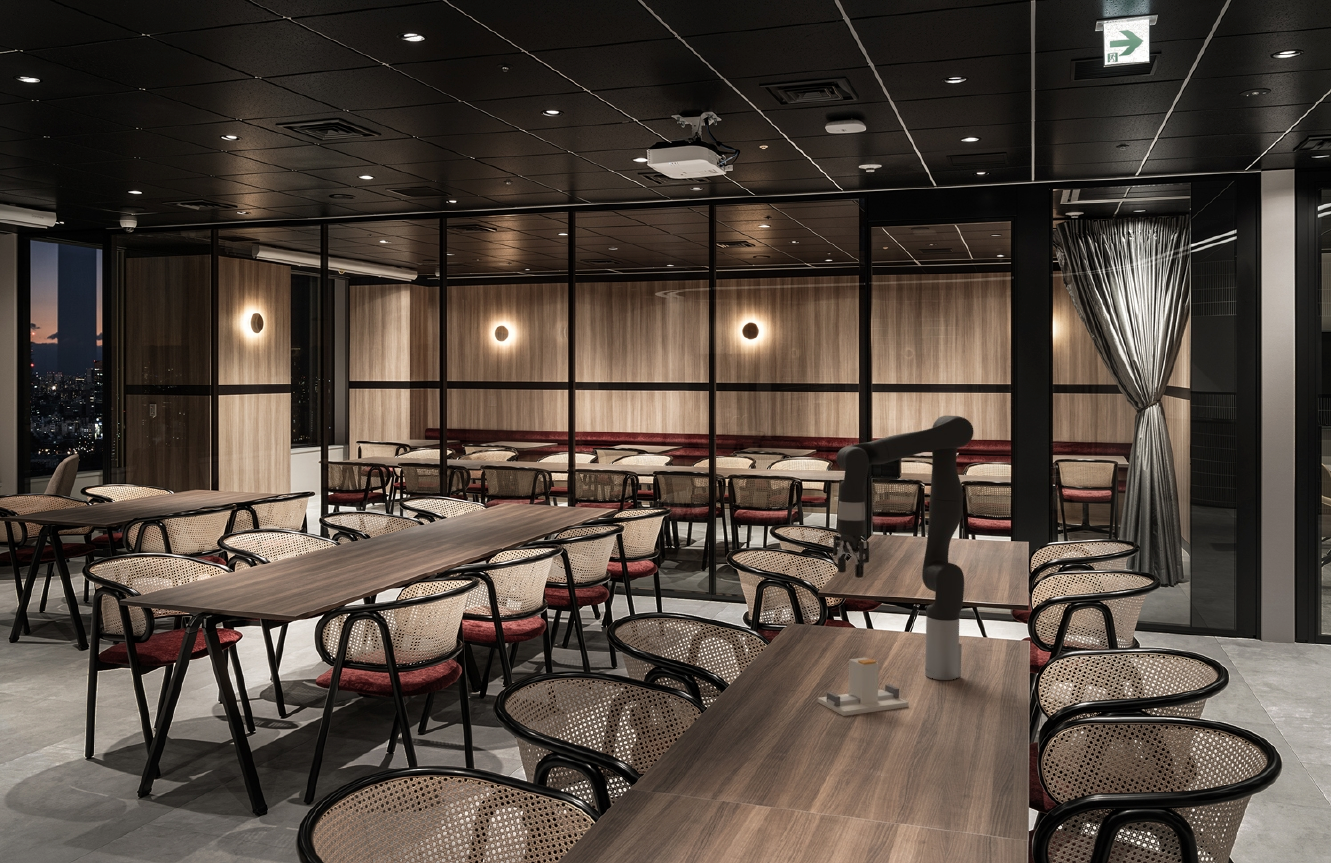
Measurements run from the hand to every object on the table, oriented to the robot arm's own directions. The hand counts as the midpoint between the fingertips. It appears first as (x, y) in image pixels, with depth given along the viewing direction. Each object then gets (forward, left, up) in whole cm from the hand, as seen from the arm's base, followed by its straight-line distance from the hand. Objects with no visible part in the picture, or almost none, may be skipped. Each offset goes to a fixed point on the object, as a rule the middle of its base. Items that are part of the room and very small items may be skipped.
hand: (850, 574), depth 285 cm
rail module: (+9, +20, -29) cm, 36 cm away
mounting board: (+9, +20, -30) cm, 37 cm away
